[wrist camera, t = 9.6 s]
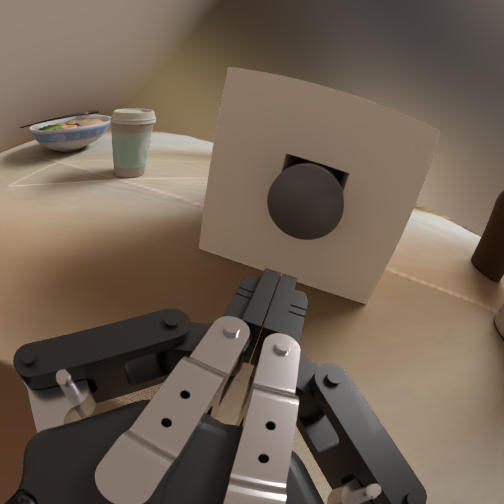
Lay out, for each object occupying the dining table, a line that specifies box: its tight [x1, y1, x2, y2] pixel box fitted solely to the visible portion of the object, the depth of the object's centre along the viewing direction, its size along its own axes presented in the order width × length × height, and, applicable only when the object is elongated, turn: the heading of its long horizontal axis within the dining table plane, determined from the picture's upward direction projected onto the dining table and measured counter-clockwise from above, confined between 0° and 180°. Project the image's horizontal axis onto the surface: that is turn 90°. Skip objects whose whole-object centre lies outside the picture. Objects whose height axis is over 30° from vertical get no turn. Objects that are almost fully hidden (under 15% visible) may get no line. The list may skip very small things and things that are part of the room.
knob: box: [267, 160, 344, 240], centre depth 27 cm, size 6×9×6 cm
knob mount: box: [199, 67, 441, 304], centre depth 31 cm, size 20×12×20 cm, turn 74°
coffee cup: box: [110, 108, 156, 178], centre depth 46 cm, size 9×9×12 cm
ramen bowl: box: [20, 110, 111, 152], centre depth 55 cm, size 25×23×8 cm
